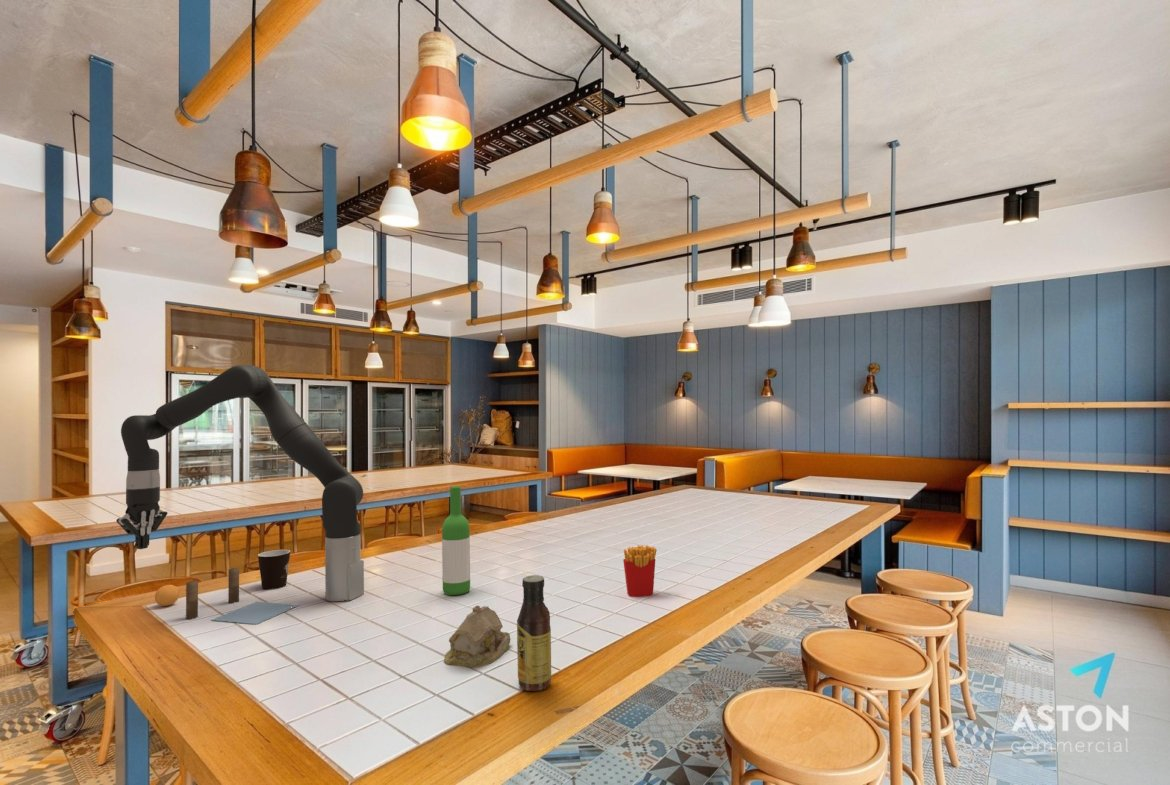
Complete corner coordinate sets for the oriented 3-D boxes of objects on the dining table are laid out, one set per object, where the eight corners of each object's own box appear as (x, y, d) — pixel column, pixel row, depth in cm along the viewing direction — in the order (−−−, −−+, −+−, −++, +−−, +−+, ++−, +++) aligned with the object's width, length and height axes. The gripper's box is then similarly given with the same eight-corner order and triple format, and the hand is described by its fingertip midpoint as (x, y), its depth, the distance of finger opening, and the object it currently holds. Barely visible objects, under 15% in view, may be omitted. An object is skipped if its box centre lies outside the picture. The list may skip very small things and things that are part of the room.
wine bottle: (446, 598, 155) (445, 489, 157) (439, 590, 162) (438, 486, 164) (473, 593, 159) (472, 487, 160) (466, 586, 166) (464, 484, 167)
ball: (184, 602, 156) (184, 582, 156) (165, 609, 151) (165, 588, 151) (169, 601, 158) (169, 581, 158) (149, 608, 152) (149, 587, 152)
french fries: (626, 597, 152) (625, 549, 153) (623, 593, 157) (621, 546, 157) (659, 595, 154) (658, 547, 155) (654, 590, 158) (653, 543, 159)
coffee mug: (276, 591, 165) (276, 557, 165) (250, 590, 167) (251, 556, 167) (303, 579, 176) (303, 547, 177) (279, 578, 178) (279, 547, 178)
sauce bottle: (518, 678, 107) (516, 573, 108) (551, 676, 107) (549, 571, 108) (517, 695, 100) (515, 583, 101) (552, 693, 101) (550, 581, 102)
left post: (200, 616, 145) (200, 581, 145) (191, 619, 143) (191, 583, 143) (192, 615, 146) (192, 580, 146) (183, 619, 143) (183, 583, 144)
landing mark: (298, 605, 152) (298, 604, 152) (256, 624, 138) (256, 623, 138) (256, 602, 155) (256, 601, 155) (211, 620, 142) (211, 619, 142)
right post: (241, 600, 157) (241, 568, 157) (233, 603, 155) (233, 570, 155) (233, 599, 158) (234, 567, 158) (226, 602, 155) (226, 570, 156)
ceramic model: (476, 673, 110) (475, 621, 110) (434, 662, 115) (433, 612, 116) (519, 646, 122) (518, 600, 122) (479, 637, 128) (478, 593, 128)
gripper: (129, 489, 150) (127, 554, 150) (176, 483, 163) (175, 543, 162) (107, 489, 152) (106, 553, 152) (156, 483, 165) (155, 542, 164)
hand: (142, 548), depth 157 cm, fingers closed
